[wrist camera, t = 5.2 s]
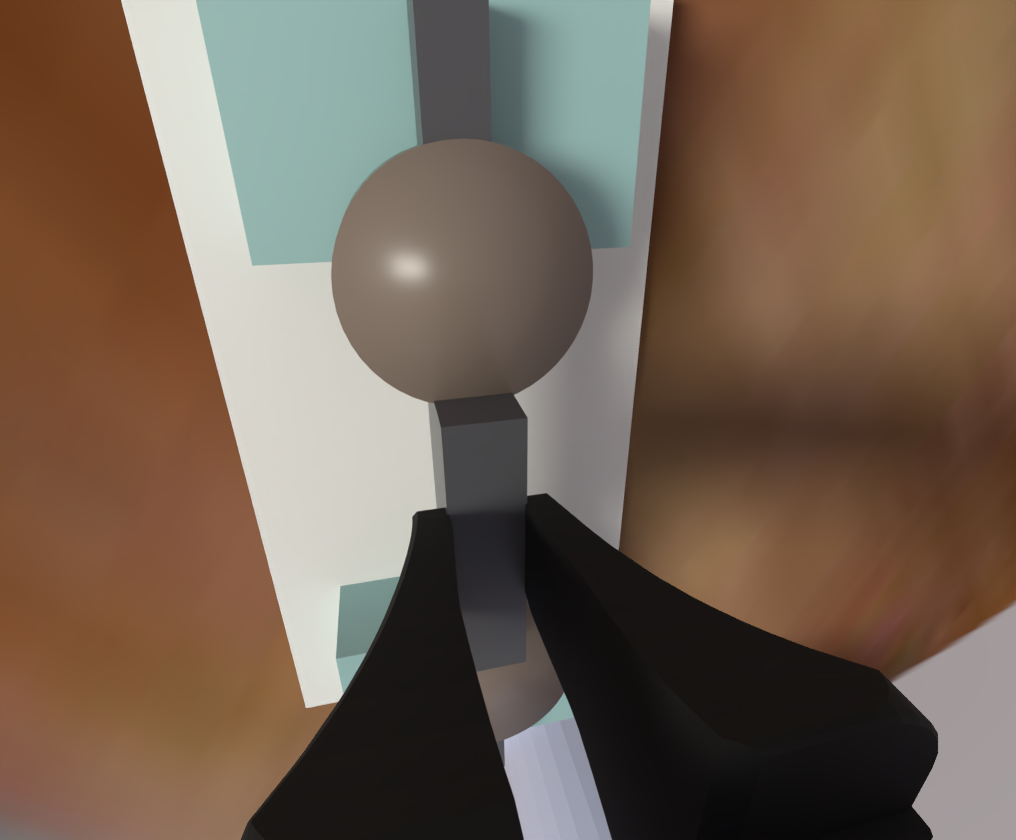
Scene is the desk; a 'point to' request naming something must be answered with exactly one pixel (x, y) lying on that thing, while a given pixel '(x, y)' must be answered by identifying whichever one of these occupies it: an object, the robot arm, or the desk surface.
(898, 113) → the desk surface
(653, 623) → the robot arm
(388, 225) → the rod with two spheres
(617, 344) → the stand
